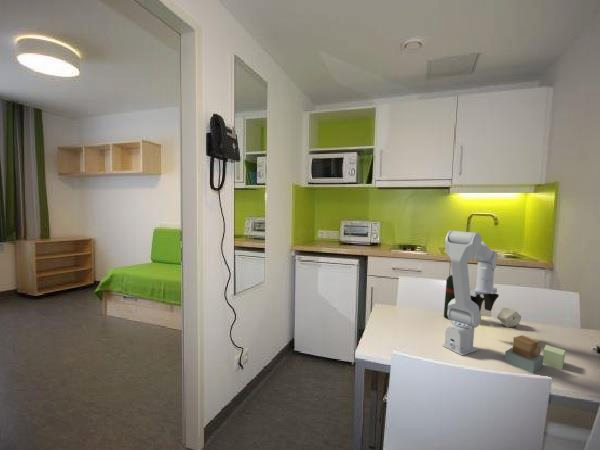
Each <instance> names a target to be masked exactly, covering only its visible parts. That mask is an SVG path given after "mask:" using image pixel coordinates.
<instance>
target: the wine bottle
mask: <svg viewBox="0 0 600 450" xmlns="http://www.w3.org/2000/svg"><path fill="white" fill-rule="evenodd" d="M445 281H446V282H445V283H446V284H445V296H444V297H445V298H444V309H443V317H444V318H445V319H447V320H449V321H451V320H450V319H449V318H448V315H447V311H448V304H449V302H450V301H451V300H452V299H454V298H455V294H454V285H453V277H452V274H450V275H449V276H448V277H447V279H446V280H445Z"/></svg>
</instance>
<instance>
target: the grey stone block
mask: <svg viewBox="0 0 600 450" xmlns="http://www.w3.org/2000/svg"><path fill="white" fill-rule="evenodd" d="M496 318H497V319H498V320H499V321H500V322H501V323H502V324H503V325H504V326H505V328H513V327H514V326H515V327H517V326H518V325H519V324H520V323H521V322H520V321H521V319H522V316H521V314H520V313H518V312H517V310H515V309H514V308H513V307H511V306H510V307H509V306H508V307H502V308H500V310H499V311H498V314H497V316H496Z"/></svg>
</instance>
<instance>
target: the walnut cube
mask: <svg viewBox="0 0 600 450" xmlns="http://www.w3.org/2000/svg"><path fill="white" fill-rule="evenodd" d="M512 339H513V340H512V347H513V351H512V352H514V353H516V354H519V355H521V356H523V357H525V358H527V359H531V358H534V357H538V351H539V352H540V350H539V347H540V341H538V340H536V339H533V338H531V337H528V336H526V335H523V334H522V335H518V336H514V337H513V338H512Z"/></svg>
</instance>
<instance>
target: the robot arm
mask: <svg viewBox="0 0 600 450" xmlns="http://www.w3.org/2000/svg"><path fill="white" fill-rule="evenodd" d="M444 244H445V251H446V252H445V253H446V255H447V256H448V257H449V258H450V265H451V267H450V268H451V275H452V277H453V285H454V294H455V298H454V299H452V300H451V301H450V302H449V304H448V311H447V315H448V318H449V319H450V320H449V319H448V320H449V321H450V323H451V325H450V326H449V327H447V328H446V329H445V339H444V343H443V344H442V346H443V347H445V348H447V349H448V350H451V351H453V352H454V353H456V354H458V355H461V356H465V355H468V354H470V353H474V352H477V351H479V349H478V347H475V346H474V337H475V328H477V327H479V326H480V324H481V321H482V313H481V310H482V305H483V304H484V310H486V311H488V312H491V311H492V309H493V307H494V304H495V302H496V300H497V299H498V298H499V294H498V288H497V287H494V279H495V277H494V275H495V269H496V267H497V262H498V258H499V257H498V251H496V250H494V249H491V248H490V247H489V246H488V245H487V244H486V242H485V241H482V236H481V233H480V232H472V231H471V232H469V231H459V230H452V229H451V230H449V231H448V232H447V233H446V237H445V239H444ZM474 259H475V262H476V263H477V272H476V282H475V283H476V284H475V285H476V286H475V288H474V289H472V290H471V288H470V277H469V276H470V275H469V268H468V267H469V266H468V262H469V261H471V260H474ZM482 296H483V297H482Z"/></svg>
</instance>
